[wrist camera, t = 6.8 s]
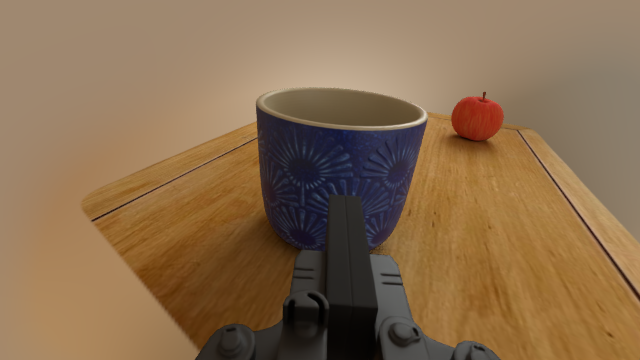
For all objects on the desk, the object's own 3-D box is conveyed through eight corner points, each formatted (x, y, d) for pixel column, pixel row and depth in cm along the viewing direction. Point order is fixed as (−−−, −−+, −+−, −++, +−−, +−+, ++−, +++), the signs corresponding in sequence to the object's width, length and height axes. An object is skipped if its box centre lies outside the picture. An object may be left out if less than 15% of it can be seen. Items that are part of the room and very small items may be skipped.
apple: (441, 129, 59) (452, 86, 55) (484, 132, 58) (498, 89, 55) (455, 143, 51) (468, 94, 48) (504, 147, 51) (521, 98, 48)
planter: (346, 183, 35) (358, 85, 30) (430, 246, 26) (467, 118, 21) (239, 207, 29) (233, 89, 24) (299, 299, 20) (307, 138, 15)
